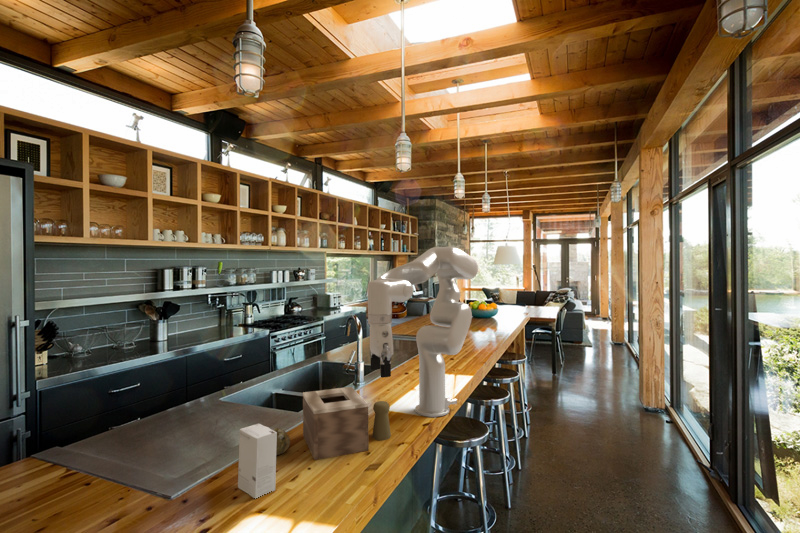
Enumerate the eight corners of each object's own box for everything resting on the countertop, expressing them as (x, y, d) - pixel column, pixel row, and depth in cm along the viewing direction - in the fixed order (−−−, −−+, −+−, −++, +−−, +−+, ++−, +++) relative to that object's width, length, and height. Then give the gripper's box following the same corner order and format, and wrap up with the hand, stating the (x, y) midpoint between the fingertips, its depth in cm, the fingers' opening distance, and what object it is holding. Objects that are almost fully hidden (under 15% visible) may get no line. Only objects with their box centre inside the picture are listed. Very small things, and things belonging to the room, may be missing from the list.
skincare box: (237, 488, 108) (236, 428, 108) (259, 479, 113) (258, 421, 112) (256, 500, 103) (255, 437, 102) (278, 490, 107) (277, 430, 107)
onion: (296, 448, 131) (296, 422, 130) (280, 460, 123) (280, 432, 123) (274, 445, 133) (274, 419, 133) (258, 456, 125) (257, 429, 125)
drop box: (351, 428, 146) (351, 386, 146) (368, 450, 129) (368, 403, 129) (303, 436, 140) (302, 392, 139) (314, 460, 123) (313, 410, 123)
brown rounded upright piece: (388, 441, 136) (388, 405, 135) (369, 439, 137) (369, 404, 137) (392, 433, 142) (392, 399, 141) (374, 431, 143) (374, 398, 143)
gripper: (401, 322, 132) (401, 378, 132) (382, 315, 148) (382, 365, 148) (377, 323, 129) (378, 381, 129) (360, 316, 145) (361, 367, 146)
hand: (380, 373), depth 139 cm, fingers open, 9 cm apart
